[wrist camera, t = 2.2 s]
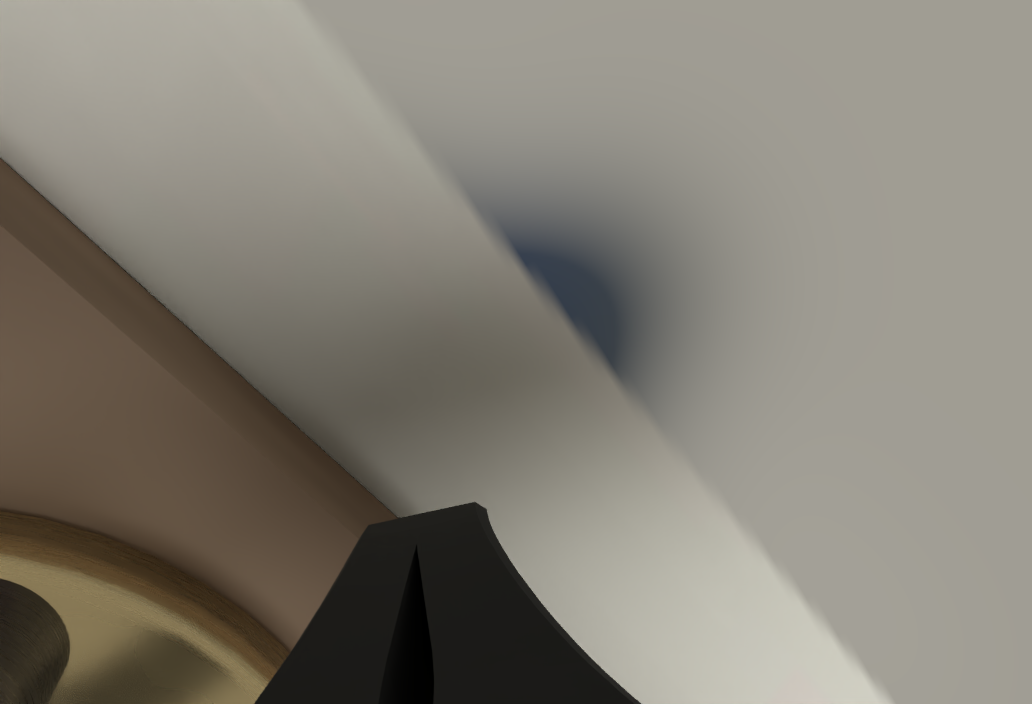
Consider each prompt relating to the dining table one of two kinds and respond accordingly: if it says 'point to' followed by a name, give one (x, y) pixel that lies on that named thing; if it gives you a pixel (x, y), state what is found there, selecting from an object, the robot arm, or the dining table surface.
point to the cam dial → (118, 625)
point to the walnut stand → (156, 431)
